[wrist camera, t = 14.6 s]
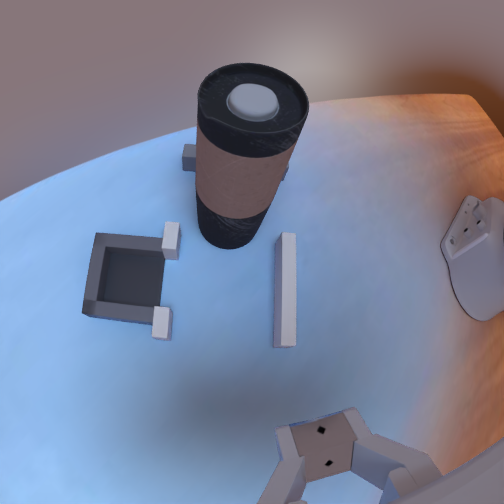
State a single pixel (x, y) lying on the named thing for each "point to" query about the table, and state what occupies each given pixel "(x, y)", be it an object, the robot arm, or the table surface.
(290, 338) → the blocks
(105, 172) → the table surface
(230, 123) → the travel mug
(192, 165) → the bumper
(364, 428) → the robot arm
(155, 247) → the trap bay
